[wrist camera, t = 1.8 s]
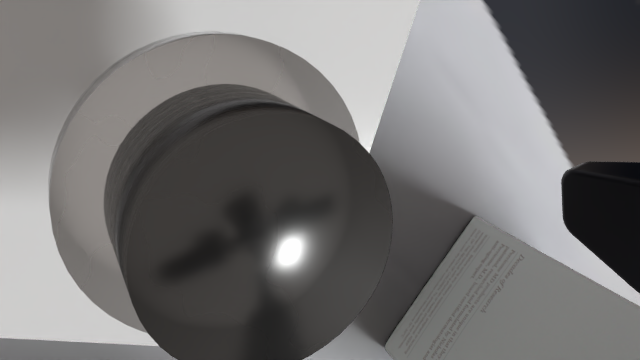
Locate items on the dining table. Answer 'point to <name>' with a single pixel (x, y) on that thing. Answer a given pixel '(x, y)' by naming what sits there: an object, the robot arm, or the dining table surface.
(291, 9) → the pale grey box
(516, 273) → the supplement box
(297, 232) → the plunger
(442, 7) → the dining table surface
